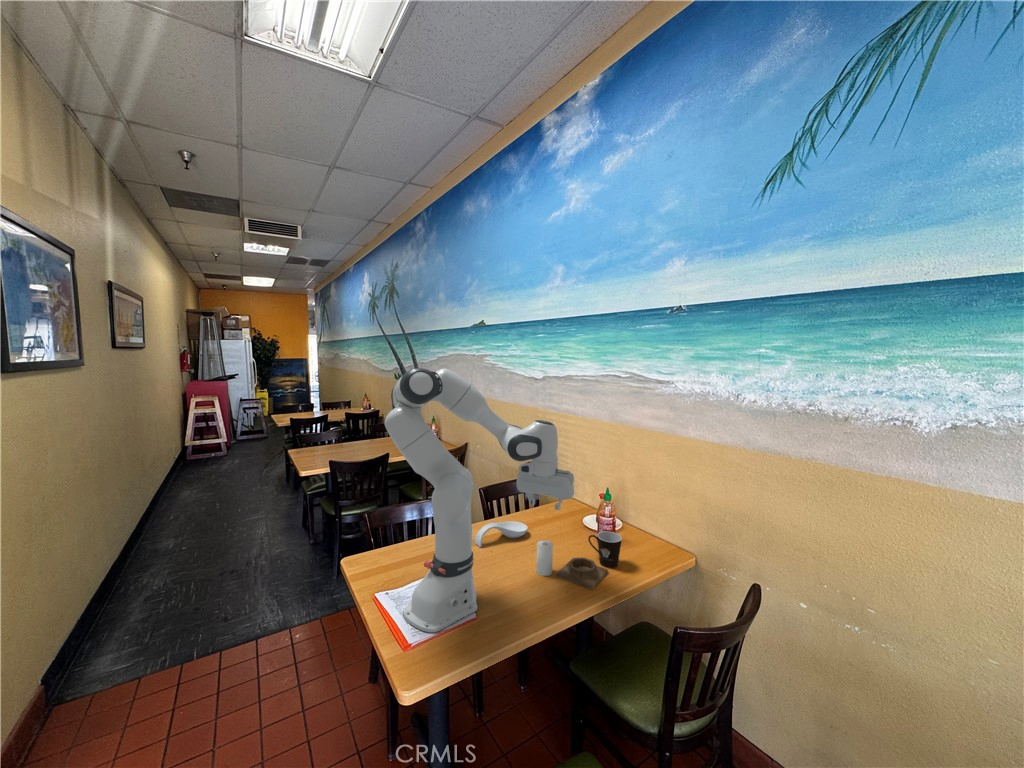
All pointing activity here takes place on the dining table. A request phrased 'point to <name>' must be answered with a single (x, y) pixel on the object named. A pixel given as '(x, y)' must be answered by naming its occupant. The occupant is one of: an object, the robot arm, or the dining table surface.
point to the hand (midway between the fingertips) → (544, 507)
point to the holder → (582, 572)
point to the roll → (544, 557)
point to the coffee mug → (608, 548)
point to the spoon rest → (502, 530)
